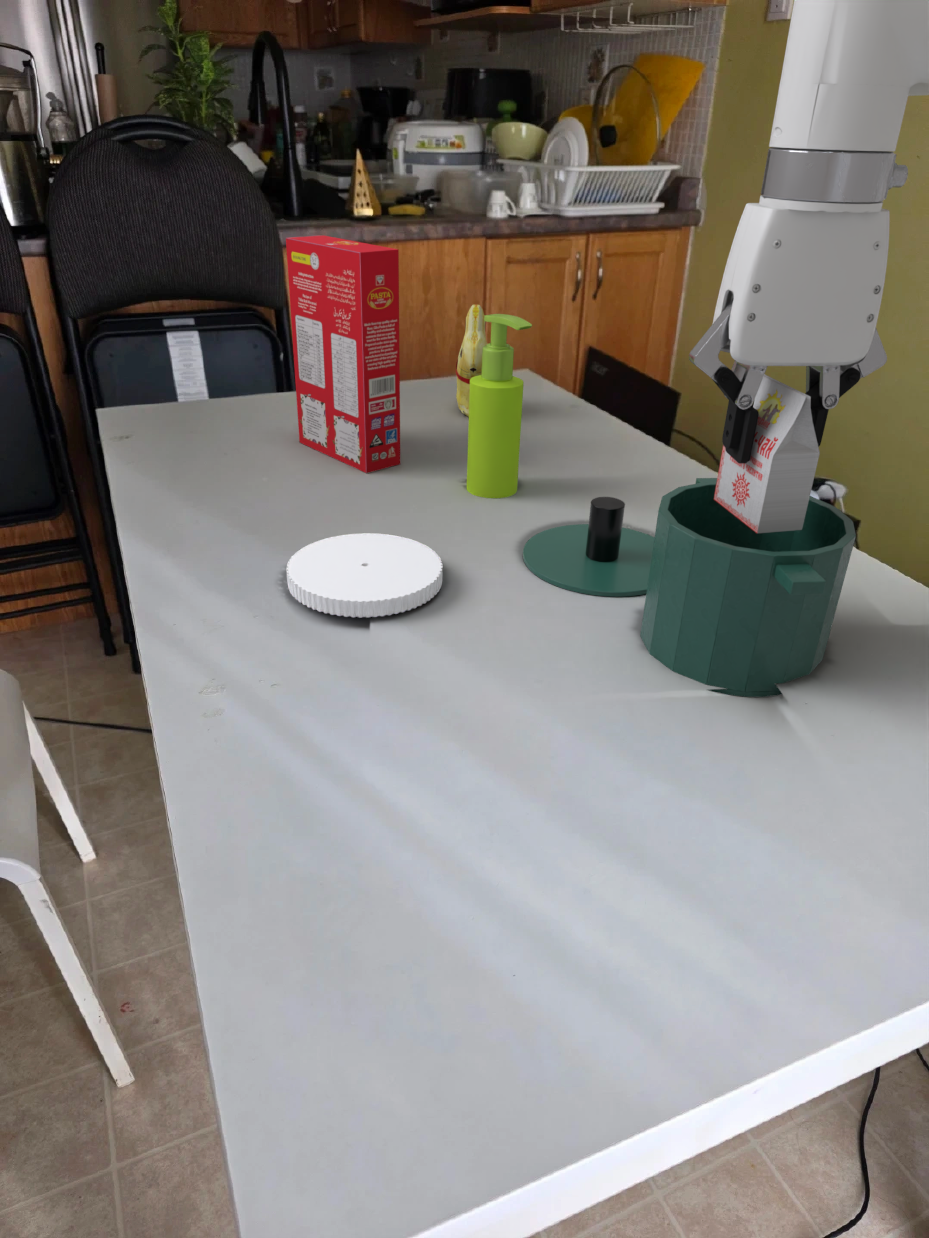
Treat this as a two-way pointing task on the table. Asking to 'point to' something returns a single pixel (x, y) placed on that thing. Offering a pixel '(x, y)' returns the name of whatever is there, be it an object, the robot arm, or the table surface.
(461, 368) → the chocolate bunny
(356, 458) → the food packaging
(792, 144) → the robot arm
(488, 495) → the soap dispenser
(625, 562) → the pot lid
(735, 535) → the pot
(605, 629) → the table surface
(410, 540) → the plastic lid
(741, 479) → the white cardboard box
